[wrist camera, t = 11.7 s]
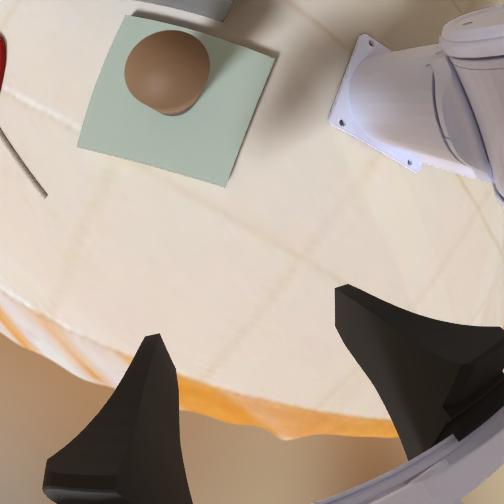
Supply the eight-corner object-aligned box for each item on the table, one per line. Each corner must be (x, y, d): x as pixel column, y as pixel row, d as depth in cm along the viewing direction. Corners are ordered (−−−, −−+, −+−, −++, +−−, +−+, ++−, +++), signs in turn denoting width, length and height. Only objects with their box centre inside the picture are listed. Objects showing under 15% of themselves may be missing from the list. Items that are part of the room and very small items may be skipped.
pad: (271, 61, 17) (275, 59, 16) (223, 185, 20) (225, 187, 19) (127, 18, 14) (125, 15, 13) (80, 146, 16) (76, 147, 16)
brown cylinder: (206, 77, 16) (223, 44, 9) (188, 122, 17) (190, 119, 10) (160, 63, 15) (145, 21, 8) (141, 108, 16) (111, 96, 9)
